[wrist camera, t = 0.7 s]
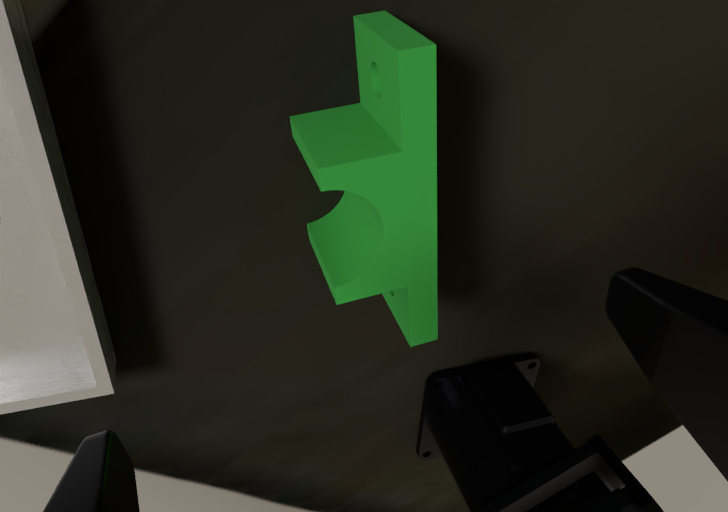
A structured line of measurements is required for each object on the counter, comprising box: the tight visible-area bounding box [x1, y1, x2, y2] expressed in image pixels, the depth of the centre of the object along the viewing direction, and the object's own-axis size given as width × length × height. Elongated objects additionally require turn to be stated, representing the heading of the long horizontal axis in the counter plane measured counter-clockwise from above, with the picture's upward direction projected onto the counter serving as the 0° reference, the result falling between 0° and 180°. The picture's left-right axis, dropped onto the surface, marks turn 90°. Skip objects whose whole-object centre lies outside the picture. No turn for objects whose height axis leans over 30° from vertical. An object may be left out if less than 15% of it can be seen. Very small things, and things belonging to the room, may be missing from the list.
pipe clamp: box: [290, 11, 438, 347], centre depth 21 cm, size 11×4×5 cm, turn 5°
